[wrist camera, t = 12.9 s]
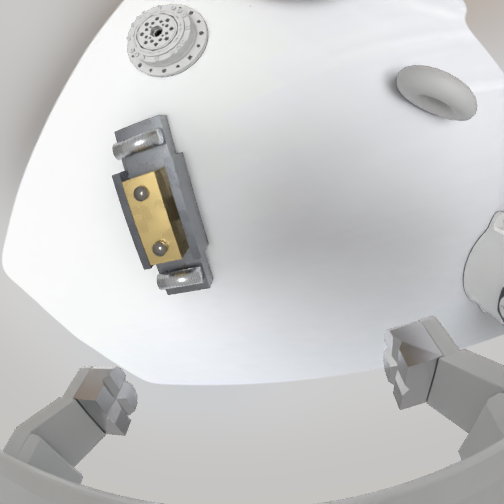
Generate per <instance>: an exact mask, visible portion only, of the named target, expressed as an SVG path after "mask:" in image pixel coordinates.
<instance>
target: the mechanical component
mask: <svg viewBox="0 0 504 504" xmlns="http://www.w3.org/2000/svg"><path fill="white" fill-rule="evenodd" d="M160 31H162V34H161V33H160ZM202 34H203V35H202ZM157 35H159V36H158V37H156V36H157ZM127 40H128V44H127V53H128V56H129V59H130V61H131V62H132V64H133V65H134V66H135V67H136V69H138V70H140V71H142V72H144V73H145V74H148V75H151V76H157V77H164V76H171V75H175V74H177V73H180V72H183V71H185V70H186V69H187V68H189V67H190V66H191V65H193V64H194V63H195V62H196V61H197V60H198V59H199V57H200V56H201V55H202V53H203V51H204V50H205V47H206V44H207V41H208V30H207V26H206V23H205V21H204V20H203V18H202V17H201V15H200V14H199V13H198V12H196V11H195V10H194V9H193V8H190V7H187V6H185V5H179V4H169V5H162V6H161V5H158V6H157V7H154V8H151V9H149V10H147V11H144V12H142V14H141V15H140V16H138V17H136V20H135V22H133V23H132V24H131V28H130V30H129V33H128V36H127ZM190 58H192V59H190ZM165 71H166V72H165Z"/></svg>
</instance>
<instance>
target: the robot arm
mask: <svg viewBox="0 0 504 504" xmlns="http://www.w3.org/2000/svg"><path fill="white" fill-rule="evenodd" d="M464 289H465V292H466V294H467V296H468V297H469V298H470V299H471V300H472V301H474V302H476V303H477V304H479V306H480V308H481V310H482V311H483V312H484V313H490V314H491V315H492V316H493V317H494V318H496V319H497V320H498V321H499V322H500V323H501V324H503V325H504V212H501V211H498V212H496V213H495V215H494V217H493V219H492V221H491V223H490V225H489V227H488V229H487V230H486V232H485V233H484V234H483V235H482V236H481V237H480V239H479V240H478V241H477V243H476V244H475V246H474V247H473V249H472V251H471V253H470V255H469V258H468V260H467V263H466V267H465V271H464ZM385 343H386V345H387V349H386V350H385V351H384V368H385V372H386V376H387V378H388V381H389V382H390V383H392V384H393V385H394V391H393V394H394V396H395V399H396V402H397V404H398V407H399V409H400V410H402V409H405V408H408V407H412V406H415V405H418V404H422V403H424V402H427V404H429V405H430V406H431V407H433V408H434V409H435V410H437V411H438V412H440V413H441V414H442V415H444V416H445V417H446V418H448V419H449V420H451V421H452V422H453V423H455V424H456V425H458V426H459V427H460V428H462V429H463V430H465V431H466V432H468V433H469V434H468V436H467V438H466V439H465V441H464V443H463V444H462V446H461V447H460V449H459V451H458V452H459V454H460V457H461V459H462V460H461V461H460V462H457V463H455V464H453V465H450V466H448V467H446V468H444V469H441V470H439V471H436V472H434V473H431V474H429V475H426V476H423V477H421V478H418V479H415V480H412V481H409V482H406V483H403V484H400V485H397V486H394V487H391V488H387V489H384V490H380V491H377V492H372V493H368V494H364V495H360V496H356V497H351V498H346V499H342V500H336V501H330V502H324V503H318V504H504V365H501V364H499V363H497V362H494V361H492V360H490V359H487V358H485V357H483V356H480V355H478V354H475V353H473V352H471V351H468V350H466V349H462V350H459V348H458V347H457V345H456V344H455V343H454V341H453V340H452V338H451V337H450V336H449V334H448V333H447V331H446V330H445V329H444V327H443V326H442V325H441V323H440V322H439V321H438V319H437V318H436V317H434V316H431V317H428V318H424V319H421V320H418V321H416V322H412V323H409V324H405V325H402V326H398V327H395V328H391V329H387V330H386V332H385ZM125 377H126V375H125V373H124V372H123V371H122V369H121V368H118V367H99V366H95V367H90V366H84V367H82V368H80V370H79V371H78V373H77V374H76V376H75V377H74V379H73V381H72V382H71V384H70V386H69V387H68V389H67V391H66V392H65V394H64V395H63V397H62V398H60V397H59V398H58V399H56V400H55V401H53V402H52V403H50V404H49V405H48V406H46V407H45V408H43V409H42V410H40V411H39V412H38V413H36V414H35V415H33V416H32V417H30V418H29V419H27V420H26V421H25V422H23V423H22V424H20V425H19V426H17V427H16V429H15V431H14V432H13V434H12V436H11V437H10V439H9V441H8V443H7V445H6V446H5V448H4V450H3V452H2V451H0V504H163V503H155V502H149V501H144V500H139V499H134V498H129V497H124V496H120V495H116V494H112V493H108V492H104V491H101V490H97V489H93V488H90V487H87V486H84V485H81V481H82V479H83V476H82V474H81V473H80V472H79V471H77V470H76V469H75V468H74V467H75V466H76V465H77V464H78V463H79V462H80V461H81V460H82V459H83V458H84V456H86V454H88V453H89V452H90V451H91V450H92V449H93V447H95V445H96V444H97V443H98V442H99V441H100V440H101V439H102V438H103V437H104V436H105V435H106V434H112V435H123V436H125V435H126V432H127V430H128V427H129V424H130V422H131V419H130V416H129V415H130V414H131V413H133V412H134V411H135V409H136V406H137V394H136V390H135V389H134V387H133V385H131V384H130V383H129V382H127V381H126V380H125Z"/></svg>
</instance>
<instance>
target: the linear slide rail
mask: <svg viewBox="0 0 504 504" xmlns="http://www.w3.org/2000/svg"><path fill="white" fill-rule="evenodd" d="M115 136H116V140H117V143H115V144H114V145H113V154H114V156H115V157H116V159H118V160H120V159H122V162H123V166H124V169H125V171H123V172H121V173H118V174H115V175H113V176H112V178H113V181H114V184H115V188H116V191H117V194H118V197H119V201H120V204H121V207H122V210H123V213H124V216H125V219H126V222H127V225H128V227H129V230H130V233H131V236H132V239H133V241H134V244H135V247H136V250H137V252H138V255H139V258H140V260H141V263H142V265H143V268H144V270H145V269H150V268H152V266H153V265H150V262H149V260H148V257H147V254H146V252H145V249H144V246H143V244H142V241H141V238H140V235H139V233H138V230H137V227H136V224H135V221H134V218H133V215H132V212H131V209H130V206H129V203H128V200H127V197H126V194H125V191H124V188H123V184H122V182H124V181H126V180H128V179H131V178H133V177H136V176H138V175H141V174H144V173H147V172H150V171H153V170H157V169H160V168H163V167H165V170H166V173H167V177H168V180H169V184H170V187H171V190H172V194H173V196H174V200H175V203H176V206H177V210H178V213H179V217H180V220H181V223H182V226H183V229H184V232H185V235H186V239H187V242H188V245H189V248H188V250H187V251H186V253H185V255H184V256H183V258H182V259H179V260H174V261H169V262H165V263H160V264H156V266H157V268H158V271H159V275H158V276H157V284H158V287H159V289H160V290H165V289H166V291H167V294H168V295H171V294H177V293H183V292H189V291H195V290H201V289H207V288H210V287H211V284H212V280H213V277H212V274H211V271H210V268H209V264H208V261H207V258H206V255H205V250H206V247H207V245H208V241H207V238H206V234H205V231H204V228H203V224H202V221H201V217H200V214H199V210H198V207H197V203H196V200H195V196H194V193H193V189H192V186H191V182H190V179H189V175H188V171H187V168H186V164H185V160H184V156H183V153H178V154H176V151H175V148H174V144H173V140H172V136H171V132H170V128H169V125H168V121H167V117H166V115H157V116H155V117H152V118H149V119H146V120H144V121H141V122H138V123H136V124H133V125H131V126H128V127H126V128H123V129H121V130H118V131H116V132H115Z"/></svg>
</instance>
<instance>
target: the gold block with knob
mask: <svg viewBox="0 0 504 504" xmlns="http://www.w3.org/2000/svg"><path fill="white" fill-rule="evenodd" d="M122 184H123V188H124V191H125V194H126V197H127V200H128V203H129V206H130V209H131V212H132V215H133V218H134V221H135V224H136V227H137V230H138V233H139V235H140V238H141V241H142V244H143V246H144V249H145V252H146V254H147V257H148V260H149V262H150V265H155V264H160V263H165V262H169V261H174V260H179V259H182V258H183V256H184V255H185V253H186V251H187V250H188V248H189V245H188V242H187V239H186V235H185V232H184V229H183V226H182V223H181V220H180V217H179V213H178V210H177V207H176V204H175V200H174V197H173V194H172V190H171V187H170V184H169V180H168V177H167V173H166V170H165V167H163V168H160V169H157V170H153V171H150V172H147V173H144V174H141V175H138V176H136V177H133V178H131V179H128V180H126V181H124V182H122Z"/></svg>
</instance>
